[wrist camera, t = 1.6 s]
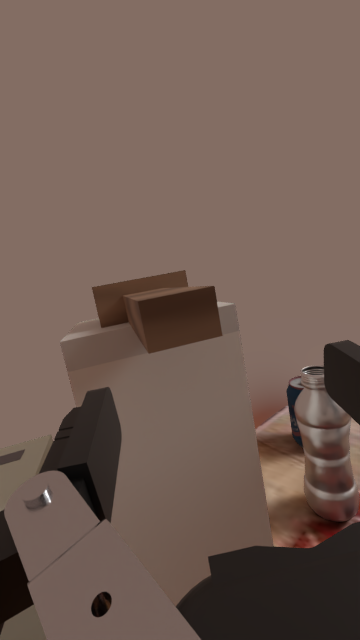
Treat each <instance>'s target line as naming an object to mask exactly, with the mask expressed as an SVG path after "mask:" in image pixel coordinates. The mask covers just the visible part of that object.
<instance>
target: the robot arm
mask: <svg viewBox="0 0 360 640" xmlns="http://www.w3.org/2000/svg"><path fill="white" fill-rule="evenodd" d="M324 385H325V388H326V391H327V393H328V395H329V396H330V398H331V399H332V400H333V401H335V402H336V403H337V404H338V405H339V406H340V407H341V408H342V409H343V410H344V411H345V412H346V413H347V414H348V415H350V416H351V417H352V418H353V419H354V420H355V421H356V422H357V423H358V424H359V425H360V346H358V345H357V344H355V343H353V342H351V341H349V340H345V341H340V342H335V343H330V344H327V345H325V348H324ZM121 441H122V433H121V425H120V421H119V417H118V414H117V410H116V407H115V403H114V399H113V396H112V392H111V390H110V388H109V387H105V388H100V389H95V390H90V391H87V393H86V395H85V398H84V400H83V403H82V405H81V407H76V408H73V409H72V410H71V412H69V414H68V415H67V416H66V417H65V418H64V419H63V421H62V423H61V425H60V428H59V432H57V434H56V437H55V441H53V443H52V445H51V447H50V450H49V452H48V454H47V456H46V458H45V461H44V463H43V465H42V467H41V470H40V472H39V474H38V475H36V476H33V477H32V478H30V479H28V480H27V481H25V482H24V483H23V484H22V485H20V486H19V487H18V488H17V489H16V490H15V491H14V492H13V494H12V495H11V496H10V498H9V499H8V501H7V503H6V506H5V509H4V510H2V511H0V635H1V632H2V629H3V625H4V622H5V621H7V620H9V619H10V618H12V617H14V616H15V615H17V614H19V613H21V612H22V611H24V610H26V609H27V608H29V607H31V606H32V605H35V608H36V611H37V614H38V616H39V619H40V622H41V625H42V627H43V630H44V633H45V636H46V639H47V640H360V522H357V523H353V524H351V525H350V526H348V527H346V528H345V529H343V530H341V531H340V532H338V533H337V534H335V535H333V536H332V537H330V538H328V539H327V540H325V541H323V542H322V543H320V544H319V545H317V546H315V547H313V548H289V547H271V546H252V547H248V548H243V549H239V550H235V551H230V552H226V553H221V554H217V555H213V556H208V561H209V566H210V572H211V575H210V576H208V577H207V578H205V579H204V580H202V581H201V582H199V583H198V584H197V585H196V586H194V587H193V588H192V589H191V590H190V591H189V592H188V593H187V594H186V595H185V596H184V597H183V598H182V599H181V600H180V601H179V603H178V604H177V605H176V607H175V605H174V604H173V603H172V602H171V600H170V599H169V598H168V596H167V595H166V594H165V593H164V591H163V590H162V589H161V587H160V586H159V585H158V584H157V582H156V581H155V580H154V578H153V577H152V576H151V575H150V573H149V572H148V571H147V569H146V568H145V567H144V566H143V564H142V563H141V562H140V561H139V559H138V558H137V557H136V555H135V554H134V553H133V552H132V550H131V549H130V548H129V546H128V545H127V544H126V543H125V541H124V540H123V539H122V537H121V536H120V535H119V534H118V532H117V531H116V530H115V528H114V527H113V526H112V525H111V517H112V509H113V502H114V494H115V487H116V479H117V472H118V464H119V457H120V449H121Z"/></svg>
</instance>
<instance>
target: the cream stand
mask: <svg viewBox="0 0 360 640" xmlns="http://www.w3.org/2000/svg"><path fill="white" fill-rule="evenodd" d="M217 305H218V311H219V317H220V323H221V329H222V335H223V336H220V337H216V338H212V339H208V340H204V341H199V342H195V343H191V344H187V345H183V346H179V347H175V348H171V349H167V350H162V351H158V352H154V353H150V354H148V352H147V350H146V349H145V347H144V346H143V344H142V343H141V341H140V339H139V338H138V336H137V335H136V333H135V332H134V330H133V328H132V327H131V325H130V324H129V322H128V323H123V324H118V325H114V326H109V327H104V328H101V325H100V320H99V319H94V320H89V321H84V322H80V323H77V324H76V325H75V326H74V328H72V330H71V331H70V332H69V333H68V334H67V335H66V336H65V337H64V338H63V339H62V340H61V341H60V344H61V348H62V352H63V356H64V360H65V364H66V368H67V371H68V376H69V380H70V384H71V388H72V392H73V396H74V400H75V404H76V407H81V405H82V403H83V400H84V398H85V395H86V393H87V391H90V390H95V389H100V388H105V387H109V388H110V390H111V392H112V396H113V399H114V403H115V407H116V410H117V414H118V417H119V421H120V425H121V433H122V441H121V449H120V457H119V464H118V472H117V479H116V487H115V494H114V502H113V509H112V517H111V525H112V526H113V527H114V528H115V530H116V531H117V532H118V534H119V535H120V536H121V537H122V539H123V540H124V541H125V543H126V544H127V545H128V546H129V548H130V549H131V550H132V552H133V553H134V554H135V555H136V557H137V558H138V559H139V561H140V562H141V563H142V564H143V566H144V567H145V568H146V569H147V571H148V572H149V573H150V575H151V576H152V577H153V578H154V580H155V581H156V582H157V584H158V585H159V586H160V587H161V589H162V590H163V591H164V593H165V594H166V595H167V596H168V598H169V599H170V600H171V602H172V603H173V604H174V605H175V607H176V605H177V604H178V603H179V601H180V600H181V599H182V598H183V597H184V596H185V595H186V594H187V593H188V592H189V591H190V590H191V589H192V588H193V587H194V586H196V585H197V584H198V583H199V582H201V581H202V580H204V579H205V578H207V577H208V576H210V575H211V572H210V566H209V561H208V556H213V555H217V554H221V553H226V552H230V551H235V550H239V549H243V548H248V547H252V546H271V547H274V546H273V540H272V533H271V527H270V521H269V515H268V508H267V502H266V496H265V489H264V483H263V477H262V470H261V464H260V458H259V451H258V445H257V439H256V432H255V426H254V420H253V413H252V408H251V402H250V395H249V389H248V382H247V376H246V369H245V363H244V357H243V351H242V344H241V338H240V332H239V325H238V319H237V312H236V306H235V304H234V303H223V302H217Z"/></svg>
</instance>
